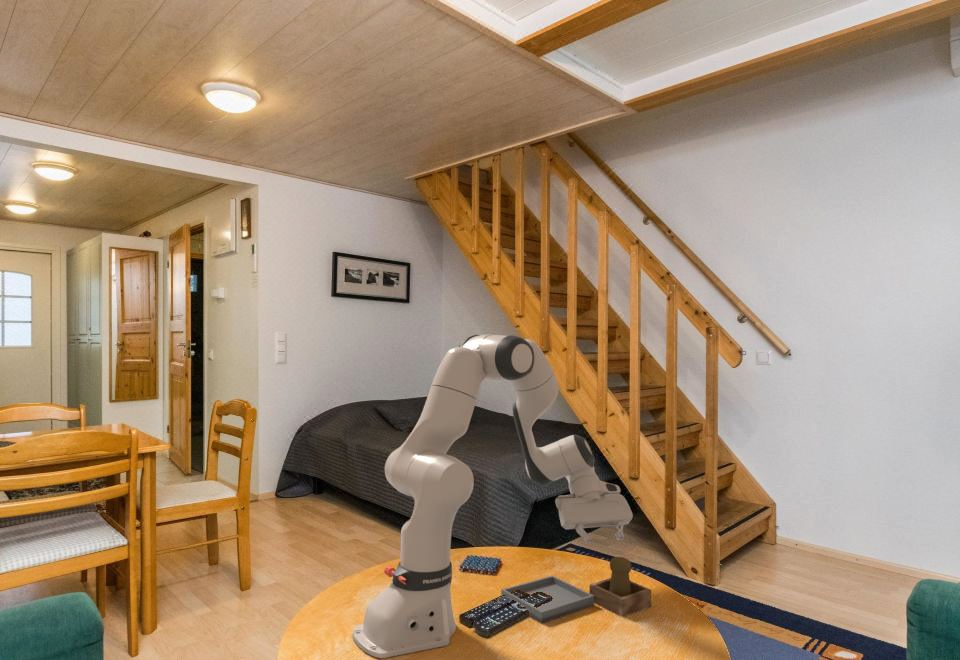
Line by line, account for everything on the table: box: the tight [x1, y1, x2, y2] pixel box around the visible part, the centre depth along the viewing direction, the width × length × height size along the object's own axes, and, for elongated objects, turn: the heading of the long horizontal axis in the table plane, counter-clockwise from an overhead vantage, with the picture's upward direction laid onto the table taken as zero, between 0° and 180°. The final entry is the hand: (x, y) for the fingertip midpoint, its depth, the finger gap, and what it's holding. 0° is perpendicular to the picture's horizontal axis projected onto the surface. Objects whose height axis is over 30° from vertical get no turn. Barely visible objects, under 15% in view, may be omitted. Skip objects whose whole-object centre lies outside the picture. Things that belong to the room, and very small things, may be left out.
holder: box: [589, 577, 652, 618], centre depth 144 cm, size 10×10×4 cm
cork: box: [609, 556, 632, 597], centre depth 144 cm, size 6×6×11 cm
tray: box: [500, 575, 595, 624], centre depth 144 cm, size 17×15×2 cm
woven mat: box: [458, 554, 503, 576], centre depth 167 cm, size 10×11×2 cm
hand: (605, 540), depth 152 cm, fingers open, 8 cm apart
